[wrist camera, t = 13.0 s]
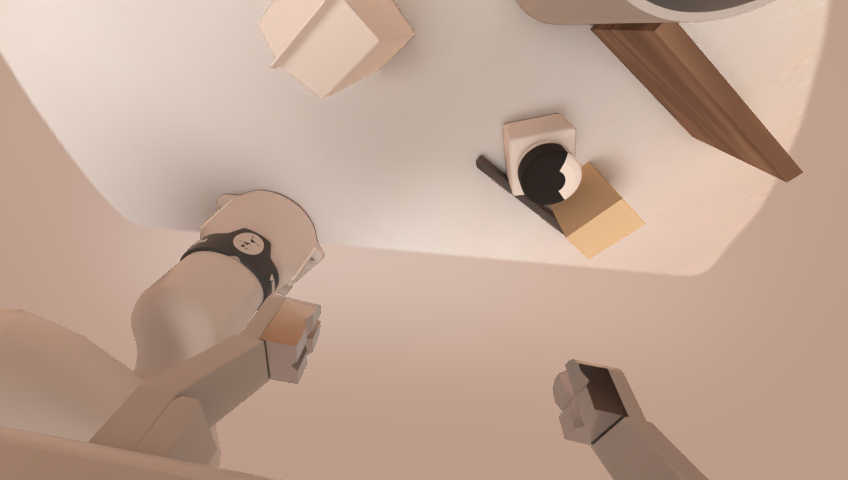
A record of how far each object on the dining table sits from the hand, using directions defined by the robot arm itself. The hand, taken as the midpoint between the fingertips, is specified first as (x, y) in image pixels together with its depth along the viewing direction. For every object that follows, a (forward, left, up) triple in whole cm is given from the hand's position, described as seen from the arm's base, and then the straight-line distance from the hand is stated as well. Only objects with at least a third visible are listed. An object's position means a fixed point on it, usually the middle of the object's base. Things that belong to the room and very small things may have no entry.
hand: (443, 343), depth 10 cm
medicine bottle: (+2, -11, -37) cm, 38 cm away
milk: (+1, +12, -37) cm, 39 cm away
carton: (+1, -20, -37) cm, 42 cm away
